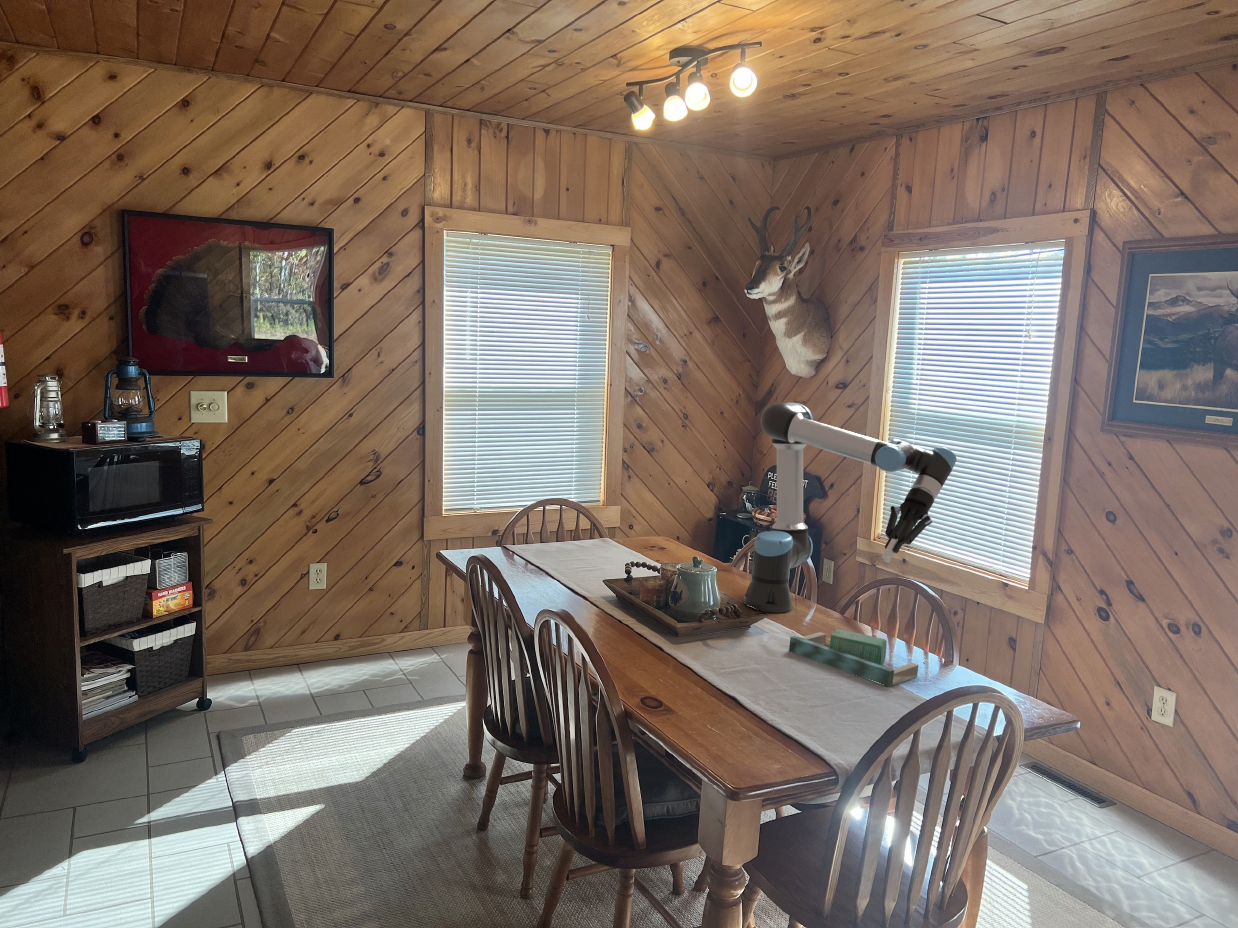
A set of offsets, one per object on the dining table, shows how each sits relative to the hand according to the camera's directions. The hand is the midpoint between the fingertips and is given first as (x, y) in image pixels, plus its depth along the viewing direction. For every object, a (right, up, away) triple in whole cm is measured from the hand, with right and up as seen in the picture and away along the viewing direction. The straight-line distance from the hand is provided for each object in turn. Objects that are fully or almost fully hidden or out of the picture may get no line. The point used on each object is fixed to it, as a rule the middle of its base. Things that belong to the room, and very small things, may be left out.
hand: (885, 559), depth 252 cm
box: (-14, -25, -20) cm, 35 cm away
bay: (-15, -25, -21) cm, 36 cm away
